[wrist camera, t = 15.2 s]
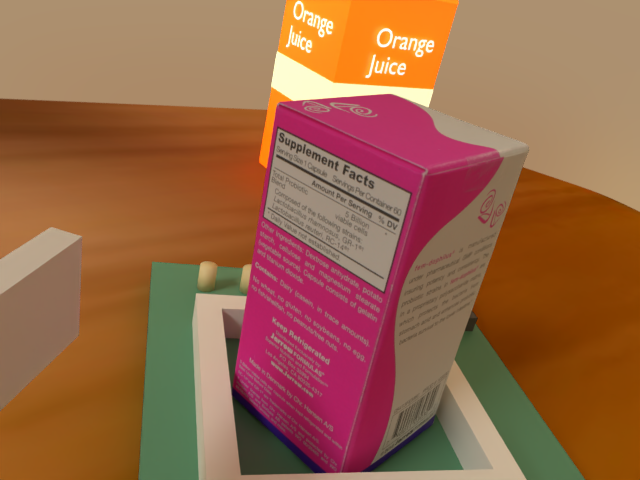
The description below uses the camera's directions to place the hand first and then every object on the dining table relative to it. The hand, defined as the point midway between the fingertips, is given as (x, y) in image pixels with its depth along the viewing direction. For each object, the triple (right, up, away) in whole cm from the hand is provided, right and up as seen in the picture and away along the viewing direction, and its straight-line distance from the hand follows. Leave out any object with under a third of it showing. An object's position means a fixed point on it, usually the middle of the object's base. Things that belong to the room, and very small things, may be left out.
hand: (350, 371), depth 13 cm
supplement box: (0, -4, +10) cm, 11 cm away
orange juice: (0, +7, +34) cm, 35 cm away
